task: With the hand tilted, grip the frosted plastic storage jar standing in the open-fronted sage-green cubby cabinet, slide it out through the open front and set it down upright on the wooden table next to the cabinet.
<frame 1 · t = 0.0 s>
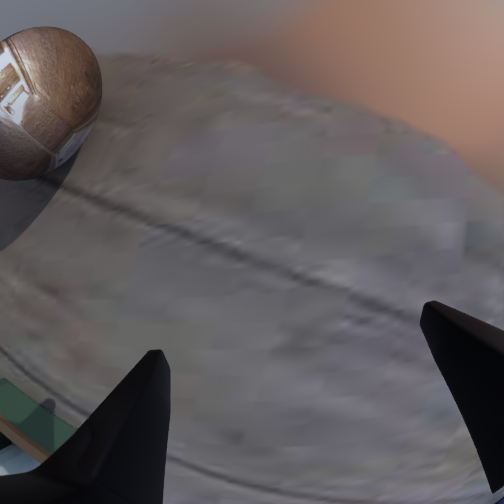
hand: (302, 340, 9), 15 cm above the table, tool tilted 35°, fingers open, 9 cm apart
storage jar: (9, 481, 15), in the cubby cabinet
cubby cabinet: (38, 460, 21), on the table
wooden sphere: (66, 135, 26), on the table
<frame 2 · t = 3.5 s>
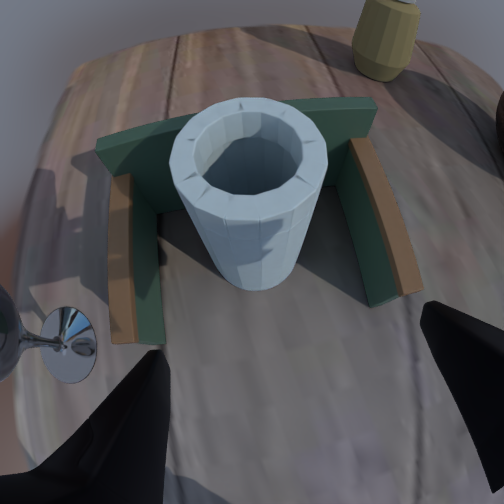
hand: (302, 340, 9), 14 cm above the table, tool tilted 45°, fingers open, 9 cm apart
wine glass: (67, 345, 22), on the table
squeeze bottle: (374, 71, 33), on the table
storage jar: (252, 214, 18), in the cubby cabinet
cubby cabinet: (255, 250, 24), on the table
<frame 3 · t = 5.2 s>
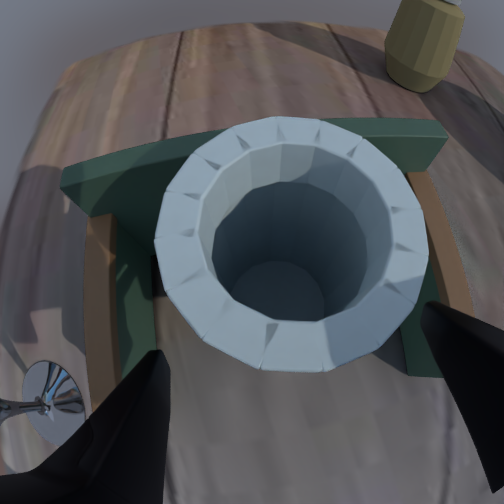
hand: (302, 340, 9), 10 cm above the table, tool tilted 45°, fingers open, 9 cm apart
wine glass: (52, 404, 17), on the table
squeeze bottle: (407, 79, 27), on the table
storage jar: (282, 285, 13), in the cubby cabinet
cubby cabinet: (276, 308, 19), on the table
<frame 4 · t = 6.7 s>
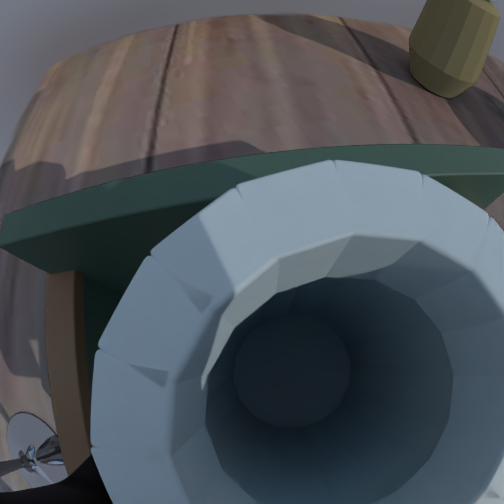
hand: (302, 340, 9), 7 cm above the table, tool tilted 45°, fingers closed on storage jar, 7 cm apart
wine glass: (39, 457, 13), on the table
squeeze bottle: (432, 82, 23), on the table
storage jar: (308, 383, 9), in the cubby cabinet, touching gripper
cubby cabinet: (290, 372, 15), on the table
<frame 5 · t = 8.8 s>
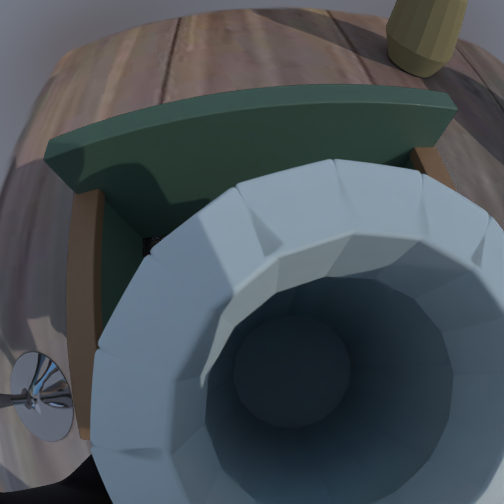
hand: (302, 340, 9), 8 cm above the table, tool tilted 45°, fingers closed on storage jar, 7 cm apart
wine glass: (40, 397, 16), on the table
squeeze bottle: (410, 64, 26), on the table
storage jar: (308, 383, 9), point 8 cm above the table, touching gripper
cubby cabinet: (275, 294, 18), on the table
when the fingers open (7 cm above the table, at t = 10.9 s): storage jar stays where it is, on the table.
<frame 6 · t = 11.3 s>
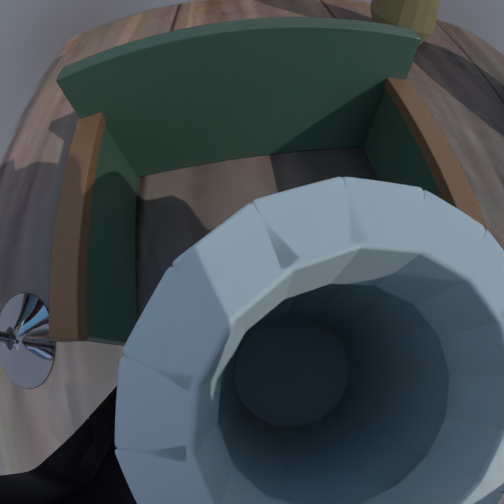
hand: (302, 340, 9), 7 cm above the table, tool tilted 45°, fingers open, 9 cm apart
wine glass: (24, 340, 16), on the table
squeeze bottle: (395, 40, 26), on the table
storage jar: (309, 383, 9), on the table
cubby cabinet: (263, 220, 18), on the table
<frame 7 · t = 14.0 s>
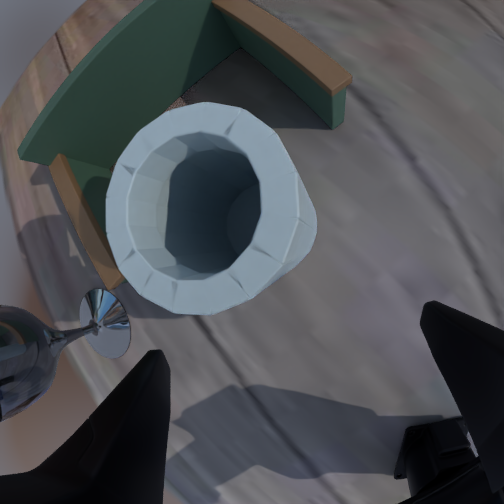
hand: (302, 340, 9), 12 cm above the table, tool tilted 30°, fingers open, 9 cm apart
wine glass: (104, 323, 26), on the table
storage jar: (244, 218, 15), on the table
cubby cabinet: (199, 140, 23), on the table
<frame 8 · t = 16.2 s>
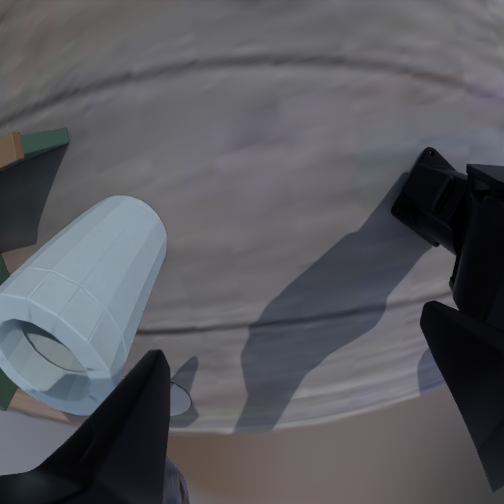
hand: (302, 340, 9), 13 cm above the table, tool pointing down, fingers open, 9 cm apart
wine glass: (159, 397, 29), on the table
storage jar: (90, 284, 15), on the table
cubby cabinet: (38, 257, 21), on the table
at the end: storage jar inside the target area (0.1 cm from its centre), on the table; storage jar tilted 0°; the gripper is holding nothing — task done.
